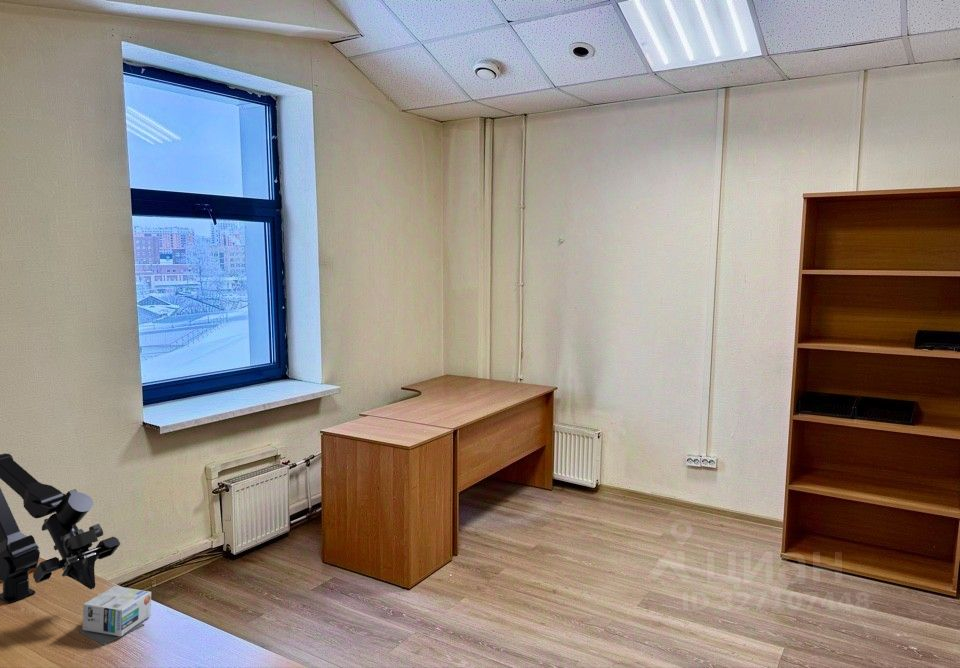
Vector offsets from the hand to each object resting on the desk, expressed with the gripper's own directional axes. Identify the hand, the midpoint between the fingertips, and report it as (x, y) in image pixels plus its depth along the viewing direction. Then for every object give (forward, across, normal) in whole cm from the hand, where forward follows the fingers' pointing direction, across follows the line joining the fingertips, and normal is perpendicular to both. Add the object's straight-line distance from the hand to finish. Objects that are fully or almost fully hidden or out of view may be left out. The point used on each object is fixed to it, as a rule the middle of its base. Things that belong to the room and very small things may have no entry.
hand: (93, 588), depth 163 cm
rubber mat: (+11, +1, +2) cm, 11 cm away
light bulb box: (+4, +1, +4) cm, 5 cm away
